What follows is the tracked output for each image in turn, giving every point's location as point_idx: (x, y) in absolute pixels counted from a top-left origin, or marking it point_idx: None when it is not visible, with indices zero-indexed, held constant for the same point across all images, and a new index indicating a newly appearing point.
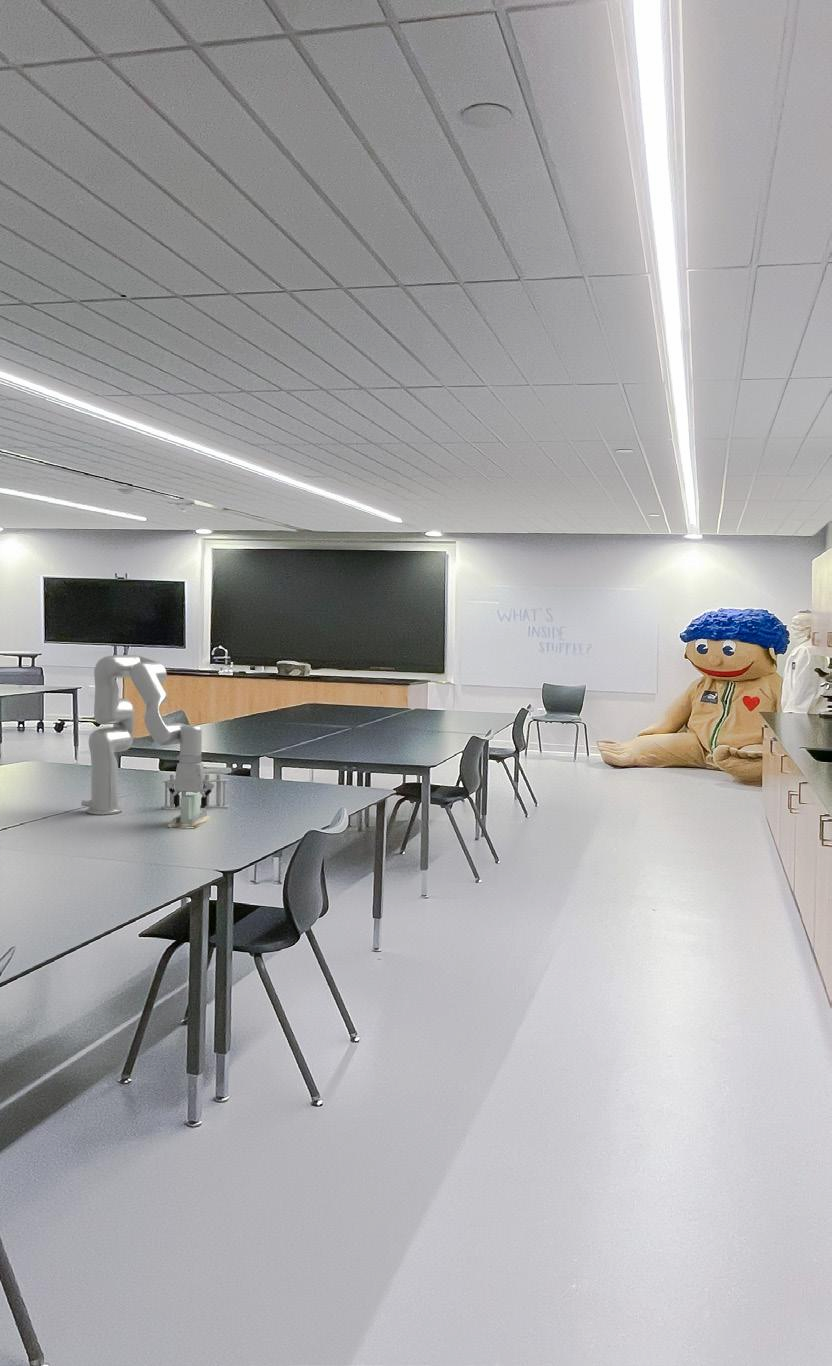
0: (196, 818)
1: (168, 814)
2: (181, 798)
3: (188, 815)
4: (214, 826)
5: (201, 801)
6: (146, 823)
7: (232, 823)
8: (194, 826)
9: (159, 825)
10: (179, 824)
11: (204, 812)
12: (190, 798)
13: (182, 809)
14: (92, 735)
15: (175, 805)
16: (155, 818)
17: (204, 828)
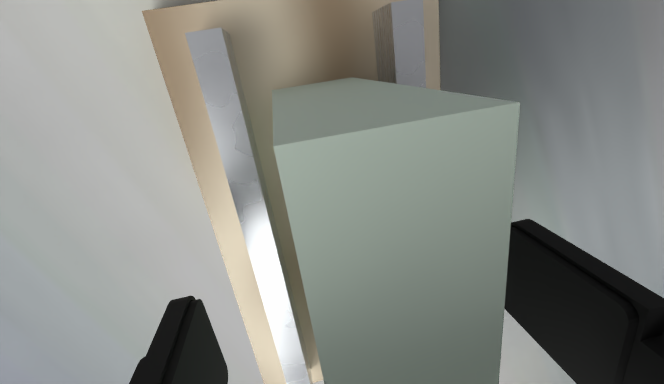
0: (228, 175)
1: (554, 364)
2: (489, 104)
3: (274, 95)
4: (64, 183)
5: (169, 371)
6: (626, 85)
7: (23, 336)
8: (156, 11)
9: (519, 47)
10: (336, 22)
11: (284, 373)
12: (297, 258)
13: (371, 90)
14: None
15: (532, 226)
16: (599, 253)
17: (80, 63)
